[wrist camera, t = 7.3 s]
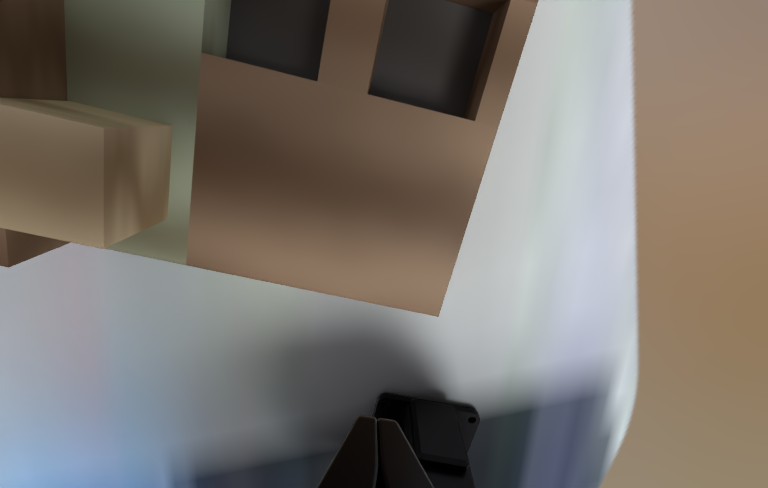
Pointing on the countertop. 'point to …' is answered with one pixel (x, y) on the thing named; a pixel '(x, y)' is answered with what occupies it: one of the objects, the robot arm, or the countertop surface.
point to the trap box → (290, 127)
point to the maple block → (81, 171)
